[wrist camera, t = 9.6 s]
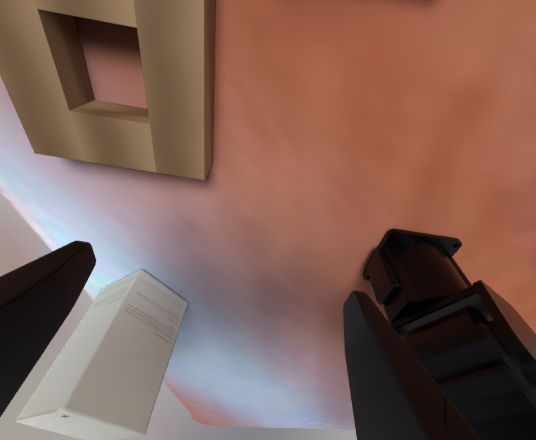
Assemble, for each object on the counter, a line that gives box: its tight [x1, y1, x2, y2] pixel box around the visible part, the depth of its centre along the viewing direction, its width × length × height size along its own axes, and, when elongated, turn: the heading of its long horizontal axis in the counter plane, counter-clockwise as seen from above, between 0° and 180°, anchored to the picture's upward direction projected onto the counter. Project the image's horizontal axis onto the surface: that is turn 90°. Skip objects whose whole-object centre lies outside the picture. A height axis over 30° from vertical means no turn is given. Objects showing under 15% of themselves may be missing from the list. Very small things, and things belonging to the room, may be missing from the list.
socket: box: [0, 0, 216, 180], centre depth 15 cm, size 11×11×2 cm
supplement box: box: [16, 269, 188, 440], centre depth 25 cm, size 7×7×13 cm
